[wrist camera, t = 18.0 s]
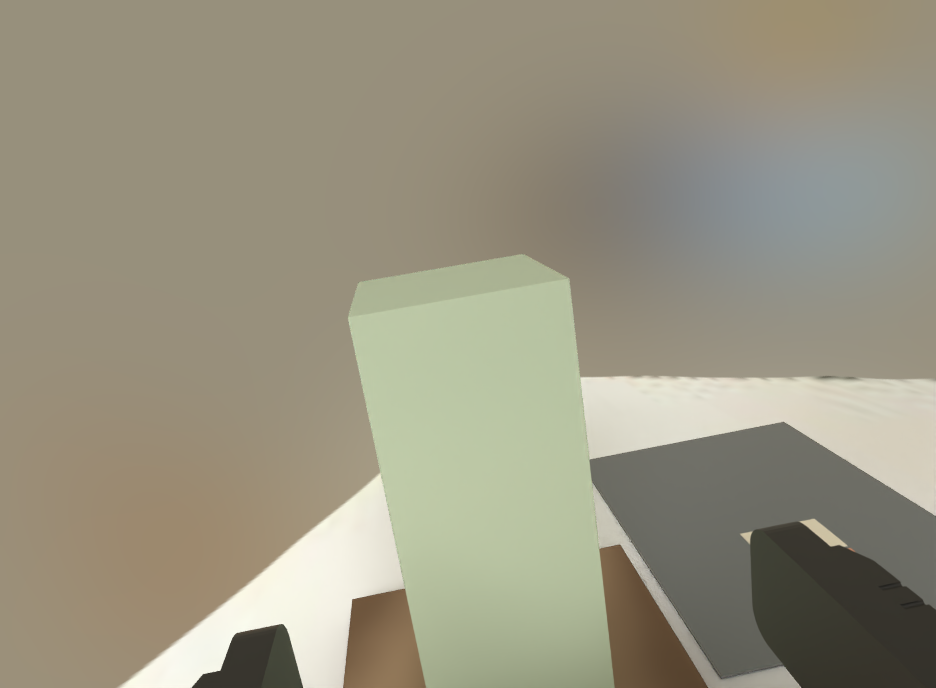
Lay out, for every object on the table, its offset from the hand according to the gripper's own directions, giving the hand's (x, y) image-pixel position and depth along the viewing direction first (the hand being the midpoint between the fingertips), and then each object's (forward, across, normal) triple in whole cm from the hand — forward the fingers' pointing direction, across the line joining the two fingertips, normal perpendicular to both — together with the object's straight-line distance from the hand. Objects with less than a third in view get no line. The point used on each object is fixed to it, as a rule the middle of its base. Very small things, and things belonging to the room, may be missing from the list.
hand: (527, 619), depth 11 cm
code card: (+16, -14, +10) cm, 24 cm away
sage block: (+9, 0, +10) cm, 13 cm away
